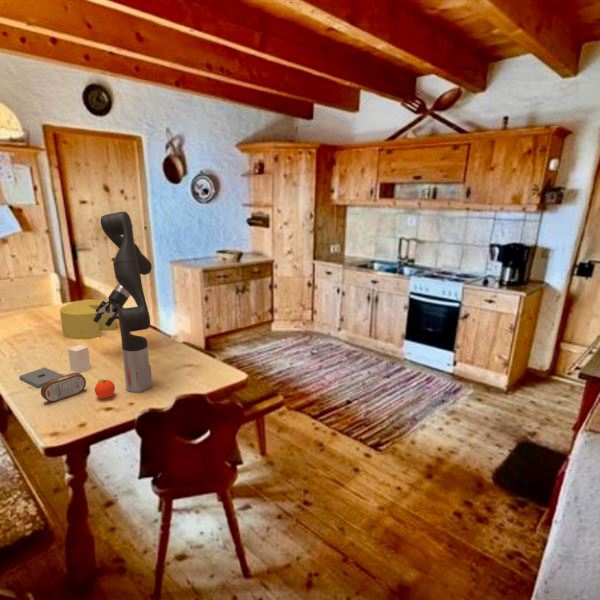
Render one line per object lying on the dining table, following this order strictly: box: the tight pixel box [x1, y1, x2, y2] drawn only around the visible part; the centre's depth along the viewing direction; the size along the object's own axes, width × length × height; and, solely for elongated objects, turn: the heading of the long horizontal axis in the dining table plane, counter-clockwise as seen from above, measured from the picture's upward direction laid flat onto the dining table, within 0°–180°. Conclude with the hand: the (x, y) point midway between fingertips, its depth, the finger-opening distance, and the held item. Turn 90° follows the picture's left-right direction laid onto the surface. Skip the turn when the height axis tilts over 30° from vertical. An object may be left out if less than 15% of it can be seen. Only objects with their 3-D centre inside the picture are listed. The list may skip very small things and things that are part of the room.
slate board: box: [19, 367, 65, 389], centre depth 161 cm, size 14×10×2 cm
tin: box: [40, 372, 87, 403], centre depth 147 cm, size 15×3×8 cm, turn 141°
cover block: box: [67, 344, 91, 374], centre depth 170 cm, size 6×6×10 cm
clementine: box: [94, 378, 116, 399], centre depth 149 cm, size 8×7×7 cm
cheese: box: [59, 299, 117, 340], centre depth 215 cm, size 26×26×15 cm
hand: (100, 323), depth 176 cm, fingers open, 8 cm apart
